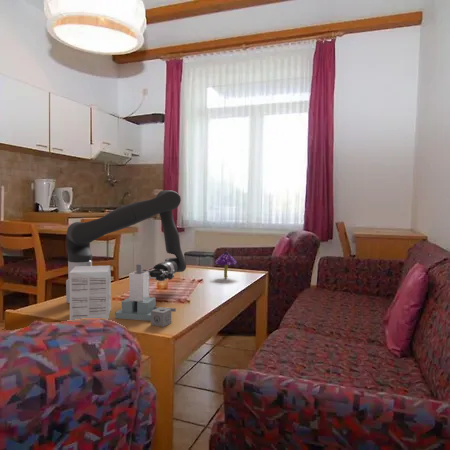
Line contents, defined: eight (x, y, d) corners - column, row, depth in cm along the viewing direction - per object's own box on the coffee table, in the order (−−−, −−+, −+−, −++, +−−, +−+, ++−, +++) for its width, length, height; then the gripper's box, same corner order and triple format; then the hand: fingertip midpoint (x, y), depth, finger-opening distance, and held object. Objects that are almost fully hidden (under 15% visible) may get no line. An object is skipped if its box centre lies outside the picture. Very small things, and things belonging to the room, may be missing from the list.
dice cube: (163, 327, 126) (163, 312, 126) (150, 325, 129) (150, 310, 128) (171, 323, 131) (171, 309, 131) (159, 321, 133) (159, 307, 133)
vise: (115, 318, 135) (115, 265, 134) (127, 310, 145) (127, 261, 144) (170, 322, 132) (171, 268, 130) (179, 314, 141) (179, 264, 140)
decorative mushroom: (230, 281, 203) (230, 253, 202) (210, 278, 209) (210, 251, 208) (240, 277, 214) (241, 251, 213) (221, 275, 220) (222, 249, 219)
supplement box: (75, 311, 143) (74, 265, 142) (111, 309, 146) (111, 265, 145) (68, 322, 130) (68, 272, 129) (108, 320, 133) (108, 271, 132)
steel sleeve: (129, 300, 136) (129, 273, 136) (135, 297, 142) (135, 271, 141) (143, 301, 135) (143, 274, 135) (148, 298, 141) (148, 271, 140)
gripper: (148, 261, 166) (133, 267, 150) (179, 263, 163) (167, 269, 147) (148, 278, 166) (133, 286, 150) (179, 280, 164) (167, 288, 148)
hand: (149, 277), depth 149 cm, fingers open, 8 cm apart
